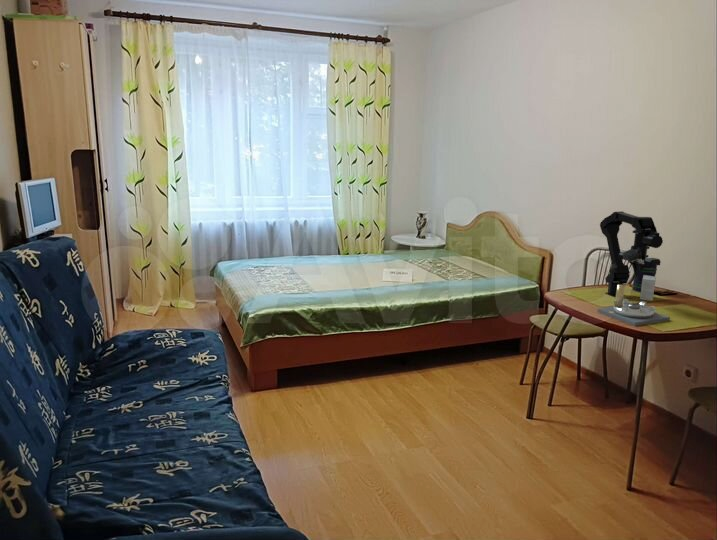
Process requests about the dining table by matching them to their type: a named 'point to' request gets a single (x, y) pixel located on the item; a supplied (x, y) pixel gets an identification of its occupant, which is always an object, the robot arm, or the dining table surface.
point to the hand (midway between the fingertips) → (636, 276)
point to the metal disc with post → (631, 306)
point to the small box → (647, 287)
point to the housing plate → (634, 321)
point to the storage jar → (638, 280)
